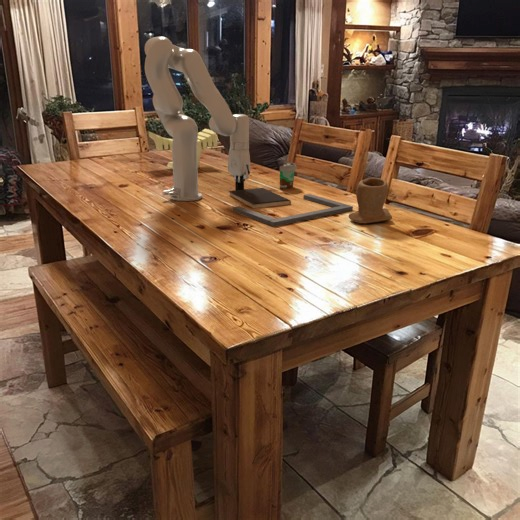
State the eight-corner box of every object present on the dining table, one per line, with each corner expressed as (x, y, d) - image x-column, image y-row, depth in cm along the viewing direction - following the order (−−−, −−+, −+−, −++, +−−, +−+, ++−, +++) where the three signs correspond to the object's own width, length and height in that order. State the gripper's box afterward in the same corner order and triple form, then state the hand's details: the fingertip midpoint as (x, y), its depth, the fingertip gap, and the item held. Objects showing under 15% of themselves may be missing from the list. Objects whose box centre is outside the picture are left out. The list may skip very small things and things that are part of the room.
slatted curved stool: (160, 172, 269) (158, 135, 263) (150, 167, 282) (148, 131, 276) (217, 168, 282) (217, 132, 276) (206, 162, 295) (205, 128, 289)
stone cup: (361, 228, 184) (364, 183, 179) (344, 219, 195) (346, 176, 190) (400, 224, 189) (405, 180, 184) (381, 215, 200) (385, 173, 195)
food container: (293, 190, 235) (294, 167, 232) (279, 189, 237) (279, 166, 233) (297, 184, 247) (298, 161, 243) (283, 183, 248) (284, 161, 245)
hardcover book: (253, 209, 207) (253, 203, 206) (228, 196, 227) (228, 190, 226) (290, 205, 214) (291, 199, 213) (264, 192, 233) (264, 187, 233)
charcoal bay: (273, 226, 185) (273, 222, 184) (232, 211, 203) (232, 207, 202) (352, 210, 206) (352, 206, 206) (309, 197, 224) (309, 193, 223)
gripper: (221, 144, 227) (222, 189, 233) (242, 149, 216) (243, 196, 222) (236, 143, 231) (236, 186, 238) (258, 147, 220) (258, 193, 227)
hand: (239, 191), depth 230 cm, fingers closed
